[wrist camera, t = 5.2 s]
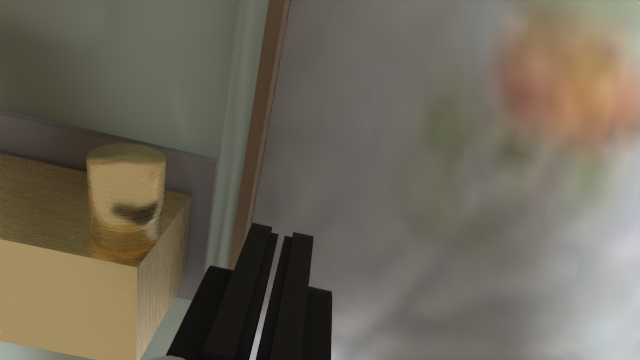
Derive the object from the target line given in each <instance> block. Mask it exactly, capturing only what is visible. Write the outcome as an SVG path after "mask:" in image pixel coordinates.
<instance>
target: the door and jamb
mask: <svg viewBox="0 0 640 360" xmlns="http://www.w3.org/2000/svg"><path fill="white" fill-rule="evenodd" d="M289 5H290V0H0V153H2V154H7V155H11V156H16V157H20V158H25V159H29V160H34V161H38V162H43V163H47V164H52V165H56V166H61V167H65V168H70V169H74V170H79V171H83V172H87V161H86V157H87V155H88V153H89V152H90V151H92V150H93V149H95V148H98V147H101V146H104V145H109V144H119V143H129V144H139V145H144V146H148V147H151V148H154V149H156V150H158V151H160V152H161V153H162V154H163V155H164V156H165V158H166V170H165V190H169V191H174V192H178V193H183V194H187V195H192V199H191V210H190V222H189V233H188V244H187V255H186V267H185V278H184V281H183V283H182V285H181V287H180V289H179V290H178V292H177V294H176V296H175V298H174V299H173V301H172V303H171V305H170V307H169V309H168V310H167V312H166V314H165V316H164V318H163V319H162V321H161V323H160V325H159V327H158V328H157V330H156V332H155V334H154V336H153V338H152V339H151V341H150V343H149V345H148V347H147V348H146V350H145V352H144V354H143V356H142V357H141V359H140V360H148V359H151V358H154V357H158V356H166V353H167V351H168V349H169V347H170V345H171V343H172V341H173V339H174V337H175V335H176V333H177V331H178V329H179V327H180V325H181V322H182V320H183V318H184V316H185V314H186V312H187V310H188V308H189V306H190V304H191V302H192V300H193V298H194V296H195V294H196V292H197V289H198V287H199V285H200V283H201V281H202V279H203V277H204V275H205V273H206V271H207V269H208V267H209V266H210V265H212V266H216V267H221V268H226V269H230V270H234V268H235V266H236V263H237V260H238V258H239V255H240V253H241V250H242V247H243V245H244V242H245V240H246V237H247V234H248V232H249V229H250V226H251V221H252V215H253V209H254V204H255V198H256V192H257V187H258V181H259V175H260V170H261V164H262V158H263V153H264V147H265V141H266V136H267V130H268V124H269V119H270V113H271V107H272V102H273V96H274V90H275V85H276V79H277V73H278V68H279V62H280V56H281V51H282V45H283V39H284V34H285V28H286V22H287V17H288V11H289ZM0 360H94V359H89V358H84V357H79V356H74V355H69V354H63V353H58V352H53V351H48V350H43V349H37V348H32V347H27V346H22V345H17V344H11V343H6V342H1V341H0Z"/></svg>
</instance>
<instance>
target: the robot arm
mask: <svg viewBox="0 0 640 360" xmlns="http://www.w3.org/2000/svg"><path fill="white" fill-rule="evenodd" d="M271 231H272V227H269V226H264V225H260V224H255V223H252V224H251V227H250V229H249V232H248V234H247V237H246V240H245V242H244V245H243V247H242V250H241V253H240V255H239V258H238V260H237V263H236V266H235V268H234V270H230V269H226V268H221V267H216V266H212V265H210V266H209V267H208V269H207V271H206V273H205V275H204V277H203V279H202V281H201V283H200V285H199V287H198V289H197V292H196V294H195V296H194V298H193V300H192V302H191V304H190V306H189V308H188V310H187V312H186V314H185V316H184V318H183V320H182V322H181V325H180V327H179V329H178V331H177V333H176V335H175V337H174V339H173V341H172V343H171V345H170V347H169V349H168V351H167V353H166V356H158V357H154V358H151V359H148V360H249V358H250V354H251V350H252V346H253V342H254V338H255V334H256V330H257V326H258V322H259V318H260V314H261V309H262V305H263V301H264V296H265V292H266V287H267V283H268V279H269V274H270V270H271V265H272V261H273V257H274V252H275V248H276V244H277V239H278V235H279V234H275V233H271ZM312 247H313V236H309V235H304V234H300V233H296V232H294V233H293V237H289V236H285V237H284V242H283V246H282V250H281V254H280V258H279V263H278V267H277V271H276V275H275V279H274V284H273V288H272V292H271V296H270V300H269V305H268V309H267V313H266V318H265V322H264V326H263V331H262V335H261V339H260V344H259V348H258V352H257V357H256V360H331V330H332V292H331V291H328V290H323V289H318V288H314V287H309V286H308V285H309V276H310V266H311V256H312Z"/></svg>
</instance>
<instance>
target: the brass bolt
mask: <svg viewBox="0 0 640 360" xmlns="http://www.w3.org/2000/svg"><path fill="white" fill-rule="evenodd" d="M86 161H87V172H83V171H79V170H74V169H70V168H65V167H61V166H56V165H52V164H47V163H43V162H38V161H34V160H29V159H25V158H20V157H16V156H11V155H7V154H2V153H0V341H1V342H6V343H11V344H17V345H22V346H27V347H32V348H37V349H43V350H48V351H53V352H58V353H63V354H69V355H74V356H79V357H84V358H89V359H94V360H140V359H141V357H142V356H143V354H144V352H145V350H146V348H147V347H148V345H149V343H150V341H151V339H152V338H153V336H154V334H155V332H156V330H157V328H158V327H159V325H160V323H161V321H162V319H163V318H164V316H165V314H166V312H167V310H168V309H169V307H170V305H171V303H172V301H173V299H174V298H175V296H176V294H177V292H178V290H179V289H180V287H181V285H182V283H183V281H184V278H185V267H186V255H187V244H188V233H189V222H190V210H191V199H192V195H187V194H183V193H178V192H174V191H169V190H165V170H166V158H165V156H164V155H163V154H162V153H161V152H160V151H158V150H156V149H154V148H151V147H148V146H144V145H139V144H129V143H119V144H109V145H104V146H101V147H98V148H95V149H93V150H92V151H90V152H89V153H88V155H87V157H86Z"/></svg>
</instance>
